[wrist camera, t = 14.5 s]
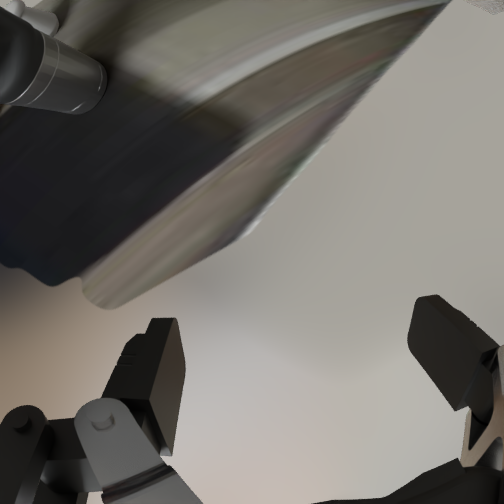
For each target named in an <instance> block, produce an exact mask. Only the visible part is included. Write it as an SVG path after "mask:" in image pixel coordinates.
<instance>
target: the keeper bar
mask: <svg viewBox="0 0 504 504" xmlns="http://www.w3.org/2000/svg"><path fill="white" fill-rule="evenodd" d="M464 1H467V2H469V3H471V4H473V5H475V6H477V7H479V8H481V9H484V10H485V11H487V12H489V13H491V14H493V15H494V14H497V13H499V12H502V11H504V0H464Z"/></svg>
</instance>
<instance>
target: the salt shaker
mask: <svg viewBox="0 0 504 504" xmlns="http://www.w3.org/2000/svg"><path fill="white" fill-rule="evenodd" d="M4 9H5V10H7V11H9V12H11V13H12V14H14V15H16V16H18V17H20V18H22V19H24V20H25V21H27V22H29V23H30V24H31V25H32V26H33V28H35V29H37V30H39V31H41V32H43V33H45V34H47V35H49V36H51V37H53V36H54V35H55V34H56V33H57V30H58V27H59V22H58V19H57V17H56V15H55V14H54V13H51V12H47V11H43V10H39V9H35V8H30V7H26V6H25V4H24V2H23V1H22V0H13V1H11V2H10V3H8V4H7V5H6V6H5V8H4Z"/></svg>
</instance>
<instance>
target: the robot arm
mask: <svg viewBox="0 0 504 504" xmlns="http://www.w3.org/2000/svg"><path fill="white" fill-rule="evenodd" d="M106 86H107V73H106V70H105V68H104V67H103V65H102V64H100V63H99V62H98V61H96V60H94V59H92V58H90V57H89V56H87V55H85V54H83V53H82V52H80V51H78V50H76V49H74V48H72V47H70V46H69V45H67V44H65V43H63V42H61V41H59V40H57V39H55V38H53V37H51V36H49V35H47V34H45V33H43V32H41V31H39V30H37V29H35V28H33V26H32V25H31V24H30V23H29V22H27V21H25V20H24V19H22V18H20V17H18V16H16V15H14V14H12V13H11V12H9V11H7V10H5V9H4V8H2V7H0V104H9V105H18V106H26V107H33V108H40V109H47V110H53V111H59V112H64V113H70V114H82V113H85V112H87V111H89V110H91V109H92V108H93V107H95V105H96V104H97V103H98V102H99V101H100V99H101V98H102V96H103V94H104V92H105V89H106ZM407 339H408V340H407V341H408V347H409V350H410V351H411V353H412V354H413V356H414V357H415V358H416V359H417V361H418V362H419V363H420V365H421V366H422V367H423V369H424V370H425V371H426V373H427V374H428V375H429V377H430V378H431V379H432V381H433V382H434V383H435V385H436V386H437V387H438V389H439V390H440V392H441V393H442V394H443V396H444V397H445V398H446V400H447V401H448V403H449V404H450V405H451V407H452V408H453V409H454V411H457V410H460V409H462V408H464V407H467V406H469V408H470V410H469V411H468V413H467V416H466V422H465V432H464V440H463V448H462V454H461V459H460V461H459V459H458V458H456V459H454V460H452V461H450V462H447V463H446V464H443V465H441V466H438V467H436V468H434V469H431V470H429V471H427V472H424V473H422V474H421V475H419V476H418V477H416V478H415V479H414V480H412V481H410V482H409V483H408V484H406V485H404V486H403V487H401V488H400V489H398V490H396V491H395V492H393V493H391V494H390V495H388V496H386V497H383V498H373V499H358V500H330V501H324V502H319V503H313V504H504V345H502V346H499V345H498V344H497V343H496V342H495V341H494V340H493V339H492V338H490V336H488V335H487V334H486V333H485V332H484V331H483V330H482V329H481V328H479V327H477V325H476V324H475V323H474V322H473V321H470V319H469V318H468V317H467V316H466V315H465V314H463V313H462V312H461V311H459V310H457V309H455V308H453V307H452V306H451V305H450V304H449V303H448V302H446V301H445V300H444V299H443V298H441V297H440V296H439V295H430V296H423V297H419V298H418V299H417V300H416V302H415V305H414V310H413V315H412V319H411V324H410V328H409V332H408V338H407ZM185 371H186V368H185V357H184V352H183V347H182V342H181V337H180V331H179V326H178V322H177V319H176V318H152V319H151V321H150V323H149V326H148V328H147V330H146V333H145V334H136V335H135V336H134V337H133V338H131V339H130V340H129V341H128V342H127V343H126V345H125V347H124V349H123V351H122V353H121V356H120V357H119V359H118V362H117V365H116V366H115V368H114V370H113V372H112V374H111V376H110V379H109V381H108V383H107V385H106V387H105V390H104V392H103V394H102V397H101V398H100V399H95V400H92V401H90V402H88V403H86V404H85V405H83V406H82V407H81V408H80V409H79V410H78V412H77V414H76V416H75V418H67V419H57V420H47V418H46V417H45V415H44V414H43V412H42V411H41V410H40V409H39V408H37V407H35V406H31V405H24V406H19V407H17V408H15V409H13V410H11V411H10V412H9V413H8V414H7V415H6V416H5V417H4V419H3V421H2V422H1V424H0V504H86V502H87V498H88V493H89V492H97V491H103V494H101V498H102V501H103V503H104V504H203V503H202V502H201V500H200V499H199V498H198V497H197V496H196V495H195V494H194V492H193V491H192V490H191V489H190V488H189V487H188V486H187V484H186V483H185V482H184V481H183V479H182V478H181V477H180V476H179V475H178V473H177V472H176V471H175V470H174V469H173V468H172V467H171V466H170V465H169V466H167V465H166V463H165V462H164V461H163V460H162V458H161V457H160V456H172V453H173V447H174V440H175V434H176V427H177V421H178V415H179V408H180V403H181V397H182V391H183V385H184V379H185ZM39 480H40V481H39ZM38 483H39V484H38Z"/></svg>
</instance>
